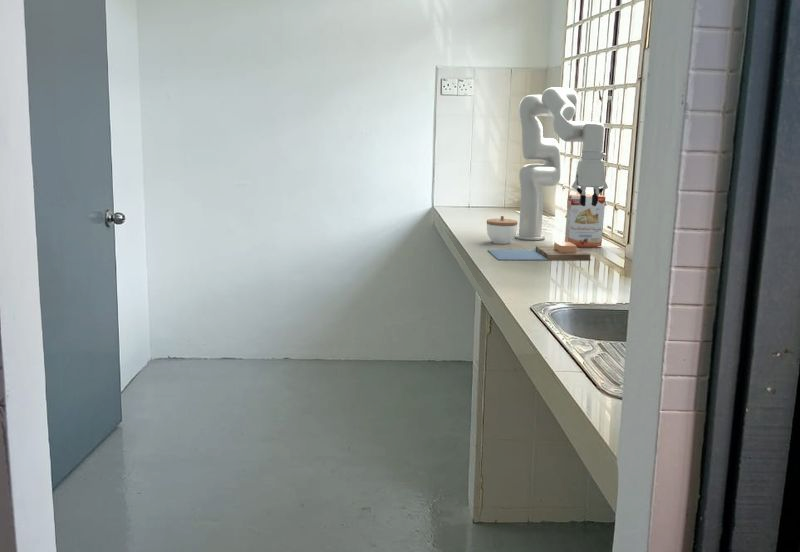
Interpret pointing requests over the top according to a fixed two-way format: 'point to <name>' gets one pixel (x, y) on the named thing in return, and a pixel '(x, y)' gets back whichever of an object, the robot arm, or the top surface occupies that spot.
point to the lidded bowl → (501, 230)
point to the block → (565, 247)
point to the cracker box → (584, 221)
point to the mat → (517, 255)
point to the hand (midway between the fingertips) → (588, 205)
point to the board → (562, 254)
